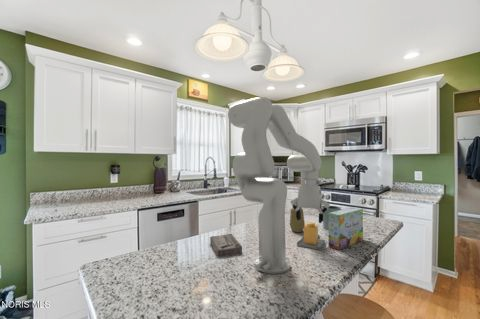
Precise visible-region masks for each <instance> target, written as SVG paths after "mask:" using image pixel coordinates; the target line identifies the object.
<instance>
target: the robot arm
mask: <svg viewBox="0 0 480 319" xmlns="http://www.w3.org/2000/svg"><path fill="white" fill-rule="evenodd" d="M272 103H273V102H272V100H271V99H269V98H268V97H266V96H258V97H253V98H250V99H247V100H243V101H240V102H237V103H234V104H232V105H231V106H230V107H229V109H228V111H227V117H228V121H229V122H230V124H231V125H232V126H234V127H236V128H240V129H243V131H242V133H241V146H242V148H243V152H240V153H237V154H236V155H235V157H234V158H233V160H232V172H233V175H234V177H235V180H236V183H237V184H238V188H239V190H240V193H241V195H242V196H243V199H245V200H246V201H247V202H251V203H256V204H262V207H261V209H260V210H259V213H258V215H257V216H258V218H257V222H258V258H257V259H255V261H254V269H255V270H257V271H259V272H263V273H266V274H271V275H277V274H283V273H286V272H288V271H289V270H290V269H291V263H290V261H289V260H288V259H286V258H287V257H286V256H287V255H286V250H287V249H286V218H285V216H286V215H285V214H286V203H287V196H288V186H287V185H286V182H284V181H283V180H282V179H279V178H277V177H271V176H273V175H274V173H275V170H276V165H275V161H274V157H273V154H272V152H271V149H270V146H269V143H268V142H269V141H268V139H267V130H269V131H270V133H271V136H273V138H274V139H275V142H276V143H277V145H278V146H280V147H282V148H284V149H287V150H290V151H293V152H297V153H299V154H293V155H290V156H289V157H288V158H287V160H286V166H287V168H288V169H289V170H290V171H292V172H295V173H299V172H300V185H299V186H298V193H297V197H295V198H296V199H295V198H294V199H292V200H290V203H291V206H293V207H292V208H294V209H295V211H296V218H297V220H300V219H301V211H300V209H301V208H302V209H310V210H311V209H312V210H317V211H318V212H319V213H318V223H319V224H321V223H323V213H324V212H325V211H326V210H327V209H328V207H329V206H331V205H330V202H329V203H328V202H327V201H325V200H324V199H323V198H322V190H321V186H320V185H321V184H322V180H319V170H320V169H321V167H322V158H321V155H320V153H319V151H318V149H317V147H316V146H315V145H314V144H313V143H312V142H311V141H310V140H308V139H307V138H305V136H302V135H300V134H298V133H297V131H296V129H295V128H294V126H293V124H292V122H291V119H290V118H289V116H288V114H287V113H286V112H287V111H286V110H285V109H284V107H283V106H282V105H280V104H272ZM296 201H298V207H297V206H296V205H295V202H296ZM322 206H325V208H324V209H322V208H321V207H322Z"/></svg>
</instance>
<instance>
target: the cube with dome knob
mask: <svg viewBox="0 0 480 319" xmlns="http://www.w3.org/2000/svg"><path fill="white" fill-rule="evenodd" d="M318 235H319V225H317V224H316V223H315V222H306V224H305V226H304V229H303V237H304V242H305V243H311V244H316V243H317V242H318V239H319V238H318Z"/></svg>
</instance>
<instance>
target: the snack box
mask: <svg viewBox="0 0 480 319" xmlns="http://www.w3.org/2000/svg"><path fill="white" fill-rule="evenodd" d="M363 210H364V209H363V208H360V207H353V206H352V207H348V208H344V209H341V210H339V211H335V212H331V213H328V214H329V230H328V247H329V248H331V249H335V250H338V251H339V250H342V249H344V248H347V247H349V246H353V245H354V244H357V243H359V242H361V241H363V240H364V223H363V222H364V218H363V216H364V213H363Z"/></svg>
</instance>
